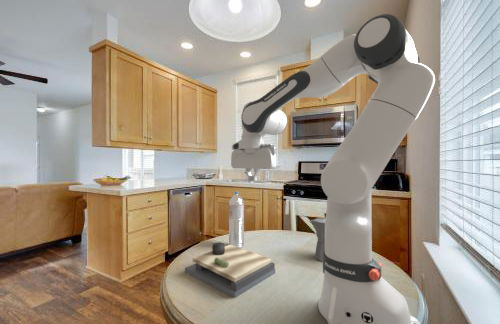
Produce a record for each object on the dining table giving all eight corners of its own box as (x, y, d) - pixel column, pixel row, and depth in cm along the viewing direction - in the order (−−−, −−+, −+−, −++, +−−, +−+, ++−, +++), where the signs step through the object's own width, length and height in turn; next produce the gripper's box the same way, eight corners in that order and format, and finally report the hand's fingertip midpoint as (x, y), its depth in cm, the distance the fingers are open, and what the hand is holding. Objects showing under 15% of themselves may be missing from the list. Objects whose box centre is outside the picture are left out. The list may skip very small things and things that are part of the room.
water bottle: (241, 250, 102) (242, 192, 103) (226, 248, 104) (227, 192, 104) (245, 244, 109) (245, 191, 109) (231, 243, 110) (231, 190, 111)
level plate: (271, 262, 81) (271, 250, 81) (234, 282, 67) (235, 267, 67) (230, 247, 94) (230, 237, 94) (192, 261, 80) (192, 249, 80)
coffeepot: (311, 262, 90) (311, 215, 90) (307, 253, 99) (307, 210, 100) (353, 263, 89) (353, 216, 89) (344, 254, 98) (344, 211, 98)
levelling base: (275, 272, 81) (275, 262, 81) (235, 297, 65) (235, 285, 66) (226, 255, 96) (226, 246, 96) (184, 272, 81) (184, 261, 81)
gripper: (280, 144, 86) (279, 181, 86) (239, 146, 100) (239, 179, 99) (270, 142, 82) (269, 182, 81) (228, 145, 95) (228, 179, 95)
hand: (252, 180), depth 90 cm, fingers closed
